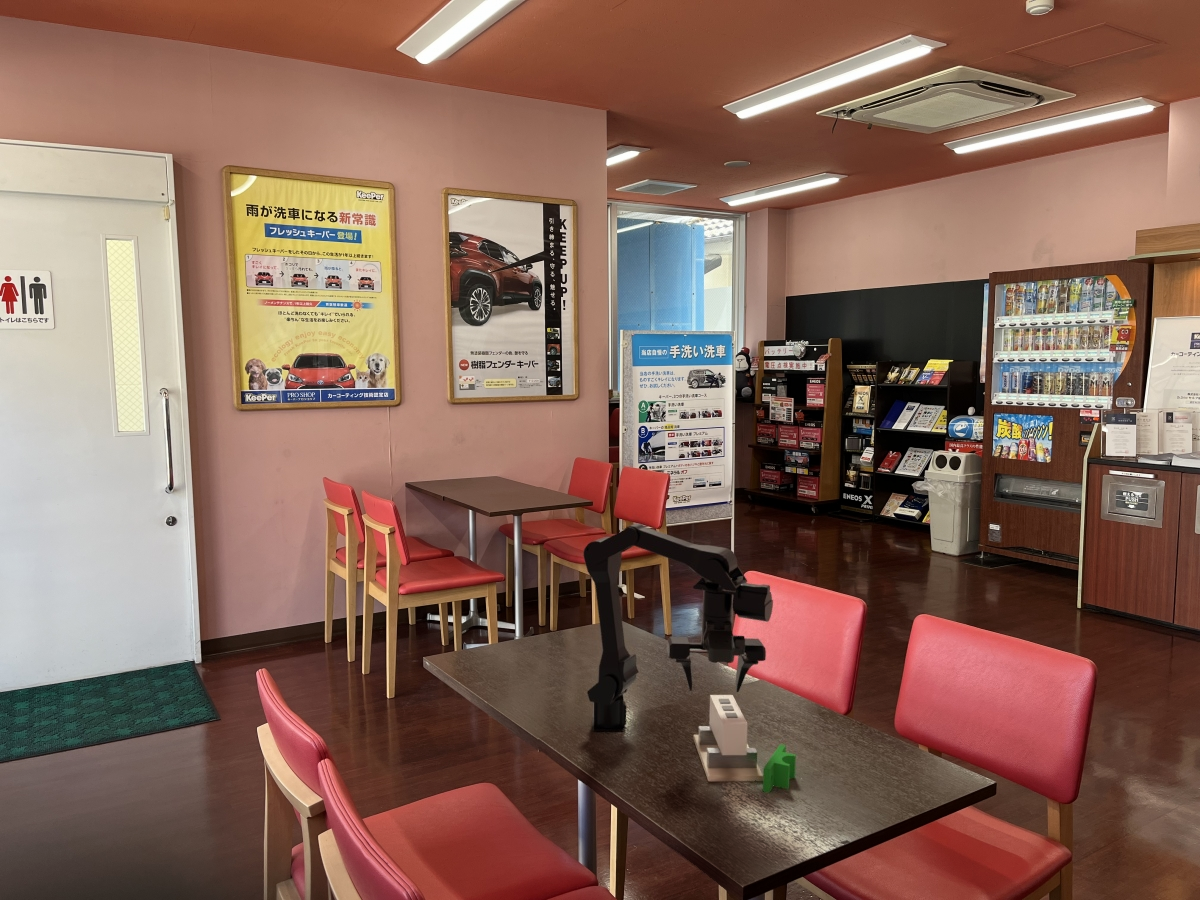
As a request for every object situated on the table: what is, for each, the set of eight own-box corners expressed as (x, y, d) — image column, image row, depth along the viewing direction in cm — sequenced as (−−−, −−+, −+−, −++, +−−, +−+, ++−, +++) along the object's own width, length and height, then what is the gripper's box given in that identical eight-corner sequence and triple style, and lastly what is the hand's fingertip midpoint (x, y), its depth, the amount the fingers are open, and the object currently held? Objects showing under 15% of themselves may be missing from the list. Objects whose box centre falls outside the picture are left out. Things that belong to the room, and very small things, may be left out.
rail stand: (708, 781, 152) (708, 760, 152) (693, 739, 170) (693, 720, 170) (763, 781, 153) (763, 759, 152) (742, 739, 170) (742, 720, 170)
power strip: (722, 755, 154) (723, 722, 153) (709, 724, 168) (710, 694, 167) (746, 755, 154) (747, 722, 154) (731, 724, 168) (732, 693, 168)
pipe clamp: (783, 798, 147) (784, 772, 147) (762, 793, 149) (763, 768, 148) (799, 771, 157) (799, 747, 157) (779, 767, 159) (779, 743, 158)
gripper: (673, 624, 156) (670, 705, 157) (773, 626, 156) (769, 708, 158) (667, 607, 167) (665, 684, 168) (761, 610, 167) (757, 686, 169)
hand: (713, 690), depth 165 cm, fingers open, 9 cm apart
